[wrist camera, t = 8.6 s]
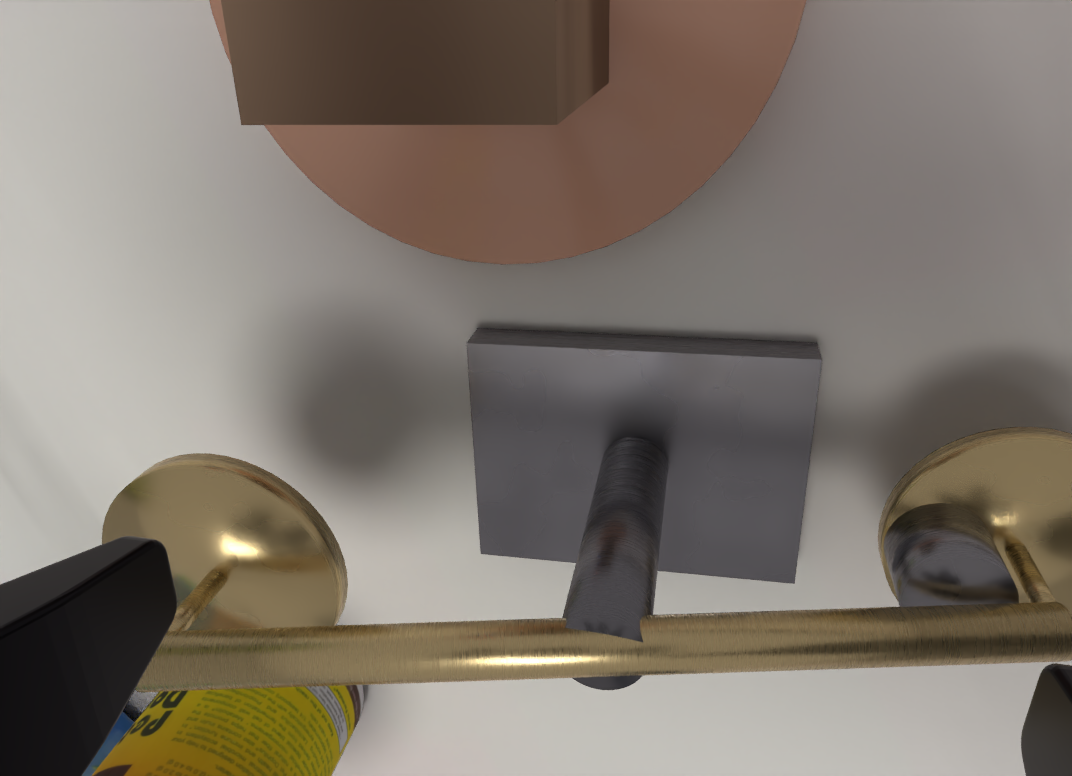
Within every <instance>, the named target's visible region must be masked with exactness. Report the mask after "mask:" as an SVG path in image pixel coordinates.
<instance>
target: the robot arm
mask: <svg viewBox="0 0 1072 776" xmlns="http://www.w3.org/2000/svg"><path fill="white" fill-rule="evenodd" d="M176 610H177V594H176V590H175V585H174V581H173V577H172V572H171V568H170V563H169V559H168V554H167V551H166V548H165V547H164V545H163V544H162V543H161V542H160V541H158V540H155V539H149V538H142V537H134V536H124V537H120V538H118V539H115V540H113V541H110V542H107V543H105V544H102V545H100V546H97V547H95V548H92V549H90V550H87V551H85V552H82V553H80V554H77V555H74V556H72V557H69V558H67V559H64V560H62V561H59V562H57V563H54V564H52V565H49V566H47V567H44V568H41V569H39V570H36V571H34V572H31V573H29V574H26V575H24V576H21V577H19V578H16V579H14V580H11V581H8V582H6V583H3V584H1V585H0V776H82V775H83V773H84V772H85V770H86V769H87V768H88V766H89V765H90V763H91V762H92V760H93V759H94V757H95V756H96V754H97V753H98V751H99V750H100V748H101V747H102V745H103V744H104V742H105V740H106V739H107V737H108V735H109V734H110V732H111V730H112V729H113V727H114V725H115V724H116V722H117V720H118V718H119V717H120V715H121V713H122V711H123V710H124V708H125V706H126V704H127V702H128V701H129V699H130V697H131V695H132V694H133V692H134V690H135V688H136V686H137V685H138V683H139V681H140V679H141V678H142V676H143V674H144V672H145V670H146V669H147V667H148V665H149V663H150V662H151V660H152V658H153V656H154V655H155V653H156V651H157V649H158V647H159V646H160V644H161V642H162V640H163V639H164V637H165V635H166V633H167V631H168V630H169V628H170V626H171V624H172V622H173V620H174V617H175V614H176ZM1021 749H1022V758H1023V763H1024V768H1025V773H1026V776H1072V666H1070V665H1063V664H1051V665H1048V666H1046V667H1045V668H1044V669H1043V671H1042V672H1041V674H1040V677H1039V680H1038V683H1037V686H1036V689H1035V692H1034V695H1033V698H1032V701H1031V704H1030V707H1029V710H1028V713H1027V717H1026V720H1025V723H1024V726H1023V730H1022V736H1021Z"/></svg>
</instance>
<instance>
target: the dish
mask: <svg viewBox="0 0 1072 776" xmlns="http://www.w3.org/2000/svg"><path fill="white" fill-rule="evenodd" d="M805 4H806V0H610V9H609V83H608V84H607V85H606V86H604V87H603V88H602V89H601V90H600V91H598V92H597V93H596V94H595V95H593V96H592V97H591V98H590V99H588V100H587V101H586V102H585V103H583V104H582V105H581V106H580V107H579V108H577V109H576V110H575V111H574V112H572V113H571V114H570V115H569V116H567V117H566V118H565V119H564V120H562V121H561V122H560V123H559V124H558V125H264V126H265V127H266V128H267V130H268V131H269V132H270V134H271V135H272V136H273V138H274V139H275V140H276V142H277V143H278V144H279V146H280V147H281V148H282V150H283V151H284V152H285V154H286V155H287V156H288V157H289V158H290V159H291V160H292V161H293V162H294V163H295V164H296V165H297V167H298V168H299V169H300V170H301V171H302V172H303V173H304V174H305V175H306V176H307V177H308V178H309V179H310V180H311V181H312V182H313V183H314V184H315V185H316V186H317V187H318V188H320V189H321V190H322V191H323V192H324V193H326V194H327V195H328V196H329V197H330V198H331V199H333V200H334V201H335V202H336V203H337V204H338V205H340V206H341V207H343V208H344V209H346V210H347V211H349V212H350V213H352V214H353V215H355V216H356V217H358V218H359V219H361V220H362V221H364V222H365V223H367V224H368V225H370V226H371V227H373V228H375V229H377V230H379V231H381V232H383V233H385V234H387V235H389V236H391V237H393V238H395V239H397V240H399V241H401V242H404V243H406V244H409V245H412V246H415V247H417V248H420V249H423V250H426V251H429V252H431V253H434V254H439V255H443V256H447V257H452V258H456V259H461V260H465V261H472V262H483V263H494V264H524V263H540V262H546V261H552V260H558V259H563V258H569V257H574V256H577V255H580V254H583V253H587V252H590V251H593V250H596V249H600V248H603V247H606V246H608V245H610V244H613V243H615V242H617V241H619V240H621V239H623V238H626V237H628V236H630V235H632V234H634V233H636V232H639V231H640V230H642V229H644V228H645V227H647V226H648V225H650V224H652V223H653V222H655V221H656V220H658V219H660V218H661V217H663V216H664V215H666V214H668V213H669V212H671V211H672V210H673V209H675V208H676V207H677V206H678V205H680V204H681V203H682V202H683V201H684V200H686V199H687V198H688V197H689V196H690V195H692V194H693V193H694V192H695V191H697V190H698V189H699V188H700V187H701V186H703V184H704V183H705V182H706V181H707V180H708V179H709V178H710V177H711V176H712V175H713V174H714V173H715V172H716V171H717V170H718V169H719V168H720V167H721V165H722V164H723V163H724V162H725V161H726V160H727V159H728V158H729V157H730V156H731V155H732V153H733V152H734V150H735V149H736V148H737V146H738V145H739V144H740V142H741V141H742V140H743V138H744V137H745V136H746V134H747V133H748V131H749V130H750V129H751V127H752V126H753V125H754V123H755V122H756V120H757V118H758V117H759V115H760V113H761V111H762V110H763V108H764V106H765V104H766V102H767V101H768V99H769V97H770V95H771V94H772V92H773V90H774V88H775V87H776V85H777V83H778V80H779V78H780V76H781V73H782V71H783V68H784V66H785V64H786V61H787V59H788V56H789V54H790V52H791V49H792V47H793V44H794V42H795V39H796V35H797V32H798V28H799V25H800V21H801V18H802V14H803V11H804V7H805ZM210 5H211V9H212V13H213V16H214V19H215V22H216V25H217V28H218V31H219V34H220V37H221V40H222V43H223V46H224V49H225V52H226V54H227V56H228V59H229V61H230V63H231V59H230V53H229V46H228V40H227V34H226V28H225V22H224V16H223V10H222V4H221V0H210Z"/></svg>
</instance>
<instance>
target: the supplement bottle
mask: <svg viewBox="0 0 1072 776" xmlns="http://www.w3.org/2000/svg"><path fill="white" fill-rule="evenodd" d="M363 700H364V695H363V685H340V686H310V687H280V688H250V689H220V690H190V691H160V692H159V693H158V694H157V695H156V696H155V698H154V699H153V700H152V701H151V703H150V704H149V705H148V706H147V707H146V709H145V710H144V711H143V712H142V714H141V715H140V716H139V717H138V719H137V720H136V721H135V723H134V724H133V725H132V726H131V727H130V729H129V730H128V731H127V732H126V733H125V735H124V736H123V737H122V738H121V740H120V741H119V742H118V743H117V744H116V746H115V747H114V748H113V749H112V751H111V752H110V753H109V754H108V756H107V757H106V758H105V759H104V761H103V762H102V763H101V764H100V766H99V767H98V768H97V769H96V771H95V772H94V773H93V774H92V776H332V774H333V772H334V770H335V768H336V766H337V764H338V762H339V760H340V758H341V756H342V754H343V752H344V750H345V748H346V746H347V744H348V742H349V740H350V738H351V736H352V734H353V731H354V729H355V727H356V725H357V723H358V721H359V719H360V716H361V713H362V708H363Z"/></svg>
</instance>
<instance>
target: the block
mask: <svg viewBox="0 0 1072 776" xmlns="http://www.w3.org/2000/svg"><path fill="white" fill-rule="evenodd" d="M221 4H222V10H223V16H224V22H225V28H226V34H227V40H228V46H229V53H230V59H231V65H232V71H233V77H234V83H235V89H236V95H237V101H238V107H239V113H240V119H241V125H558V124H559V123H560V122H561V121H562V120H564V119H565V118H566V117H567V116H569V115H570V114H571V113H572V112H574V111H575V110H576V109H577V108H579V107H580V106H581V105H582V104H583V103H585V102H586V101H587V100H588V99H590V98H591V97H592V96H593V95H595V94H596V93H597V92H598V91H600V90H601V89H602V88H603V87H604V86H606V85H607V84H608V83H609V9H610V0H221Z"/></svg>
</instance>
